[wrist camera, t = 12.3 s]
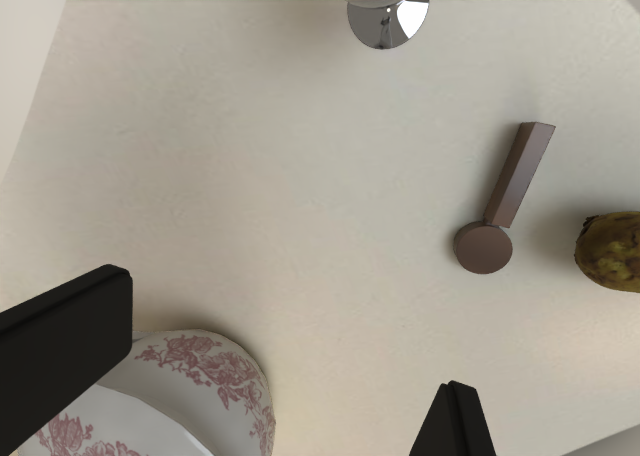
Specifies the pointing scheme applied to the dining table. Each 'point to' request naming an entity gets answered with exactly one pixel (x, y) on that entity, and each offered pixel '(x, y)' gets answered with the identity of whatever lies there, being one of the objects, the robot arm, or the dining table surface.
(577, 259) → the potato
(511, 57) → the dining table surface
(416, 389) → the dining table surface
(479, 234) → the wooden spoon
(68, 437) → the chamber pot
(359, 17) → the wine glass
